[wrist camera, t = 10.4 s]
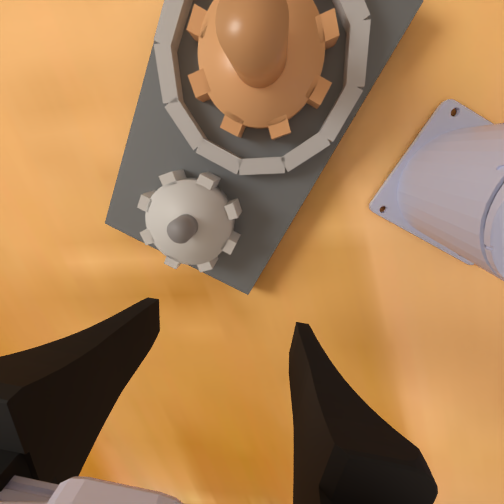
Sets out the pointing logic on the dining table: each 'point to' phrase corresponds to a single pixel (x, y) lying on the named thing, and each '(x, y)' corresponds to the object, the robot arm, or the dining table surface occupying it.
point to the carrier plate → (237, 147)
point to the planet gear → (261, 60)
